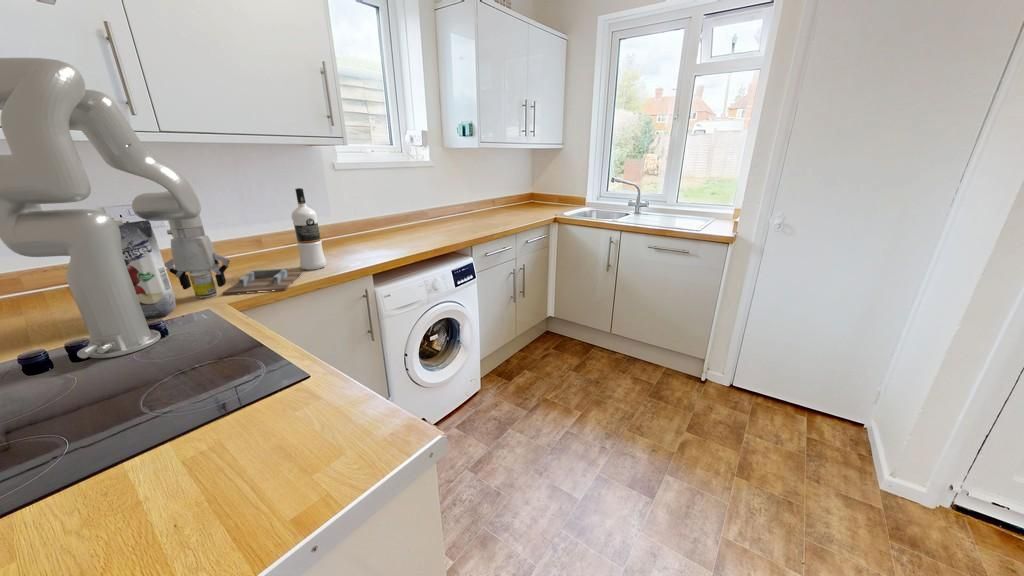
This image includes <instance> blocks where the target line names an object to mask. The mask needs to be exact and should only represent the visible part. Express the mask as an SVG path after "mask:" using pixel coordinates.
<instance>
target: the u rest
mask: <svg viewBox="0 0 1024 576" xmlns="http://www.w3.org/2000/svg"><path fill="white" fill-rule="evenodd" d="M301 274H302V271H297V272H296V271H294V272H289V271H288V268H276V269H261V270H259V269H257V270H251V271H249V272H247V273H246V274H245V275H244V276H242V277H240V278H239V279H238V281H237V282H236V283H234V284H233V285H232V286H230V287H228V288H227V289H225V290H224V291H222V295H223V296H231V295H232V294H235V295H239V294H238V293H247V292H258V291H272V290H275V291H274V292H284V291H286V290H288V288H289V287H290V286H289V285H290V284H291V283H292V282H293V281H295V280H296V279H297V278H298V277H299V276H300V275H301ZM302 275H303V274H302ZM302 275H301V276H302ZM301 276H300V277H301ZM300 277H299V278H300ZM299 278H298V279H299ZM298 279H297V280H298ZM297 280H296V281H297ZM296 281H295V282H296ZM288 286H289V287H288Z"/></svg>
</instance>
